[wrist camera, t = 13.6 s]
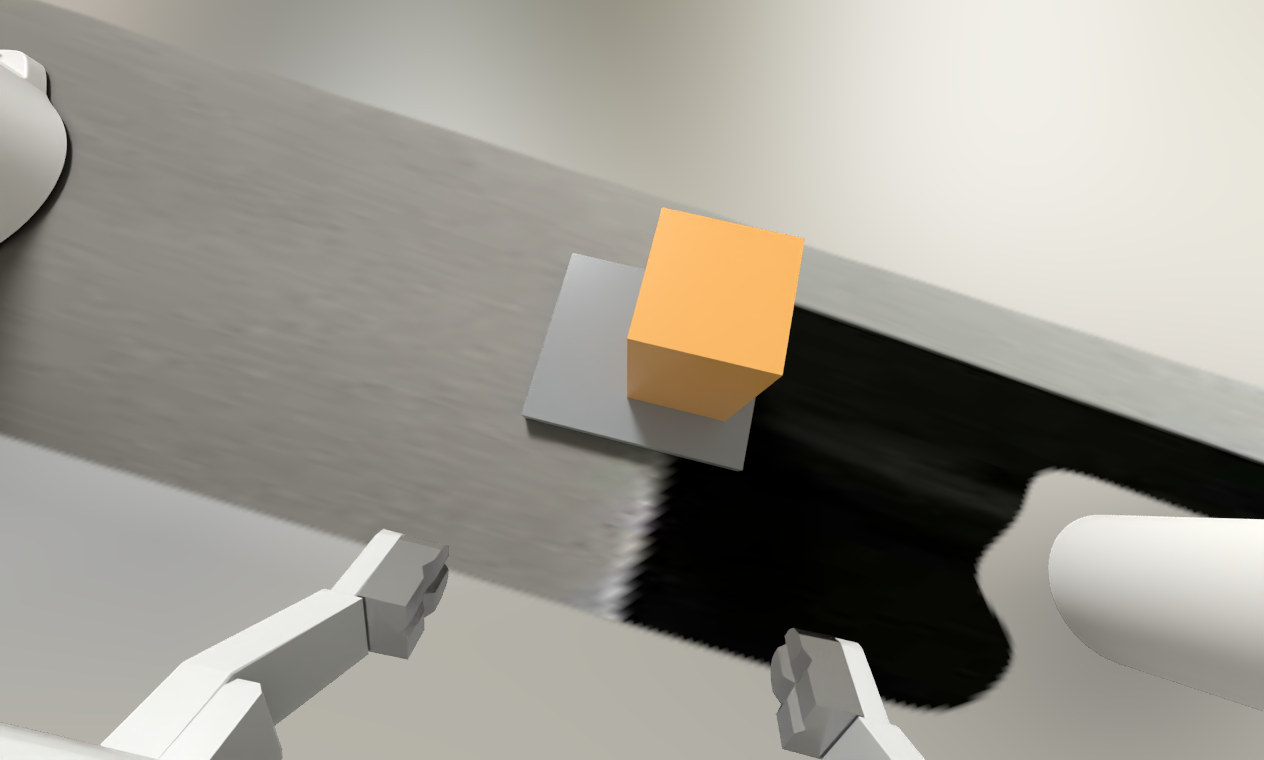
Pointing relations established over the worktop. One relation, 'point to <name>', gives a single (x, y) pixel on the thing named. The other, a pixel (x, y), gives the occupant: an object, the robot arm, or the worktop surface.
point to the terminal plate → (616, 374)
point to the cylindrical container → (1168, 597)
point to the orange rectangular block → (711, 314)
